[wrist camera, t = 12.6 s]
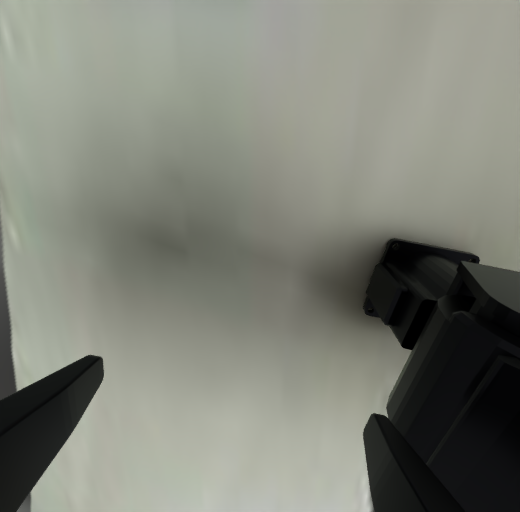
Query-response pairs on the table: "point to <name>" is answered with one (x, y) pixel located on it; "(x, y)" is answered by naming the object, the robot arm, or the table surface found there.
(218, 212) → the table surface
